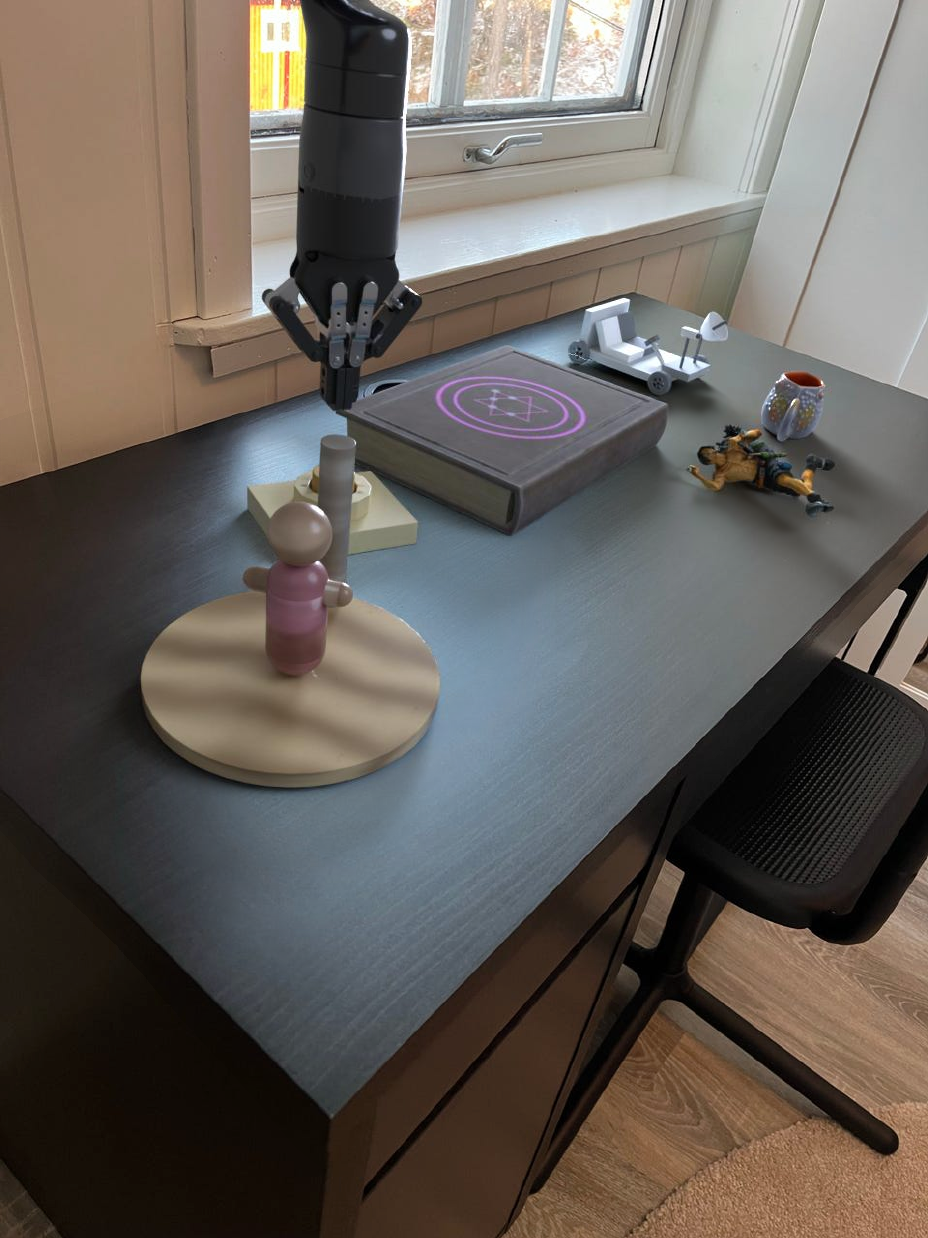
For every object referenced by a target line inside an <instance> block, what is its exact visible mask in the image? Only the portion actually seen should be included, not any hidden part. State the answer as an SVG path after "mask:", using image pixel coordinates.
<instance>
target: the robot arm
mask: <svg viewBox="0 0 928 1238" xmlns="http://www.w3.org/2000/svg"><path fill="white" fill-rule="evenodd" d="M299 4H300V10H301V14H302V20H303V26H304V32H305V60H304V61H305V62H304V86H303V87H304V91H303V92H304V94H303V102H304V103H303V111H302V119H301V126H300V132H299V141H298V165H297V167H298V168H297V201H296V202H297V203H296V231H295V238H296V239H295V240H296V241H295V243H296V252H295V255H294V259H293V261H292V262H291V264H290V267H289V278H288V279H286V280H285V281H284V282H282V283H281V284H280V285H279V286H278V287H277V288H275V289H273V288H266V289H265V290H264V291H263V292H262V294H261V300H262V302H263V304H264V305H265V306H266V307H267V309H268V310H269V311H270V313H271V314H272V315H273V317H274V318H275V319H276V320H277V322H278V323H279V325H280V326H281V327H282V329H283V330H284V331H285V332H286V334H287V335H288V336H289V338H290V339H291V340H292V342H293V343H294V344H295V346H296V347H297V348H298V349H299V351H300V352H301V353H303V354H305V356H306V357H307V358H308V359H309V360H310V361H311V362H312V363H317V362H319V363H320V367H319V368H320V369H319V387H318V388H319V390H318V393H319V395H320V398H321V399H322V401H323V402H325V403H326V405H327V407H329V408H330V409H331V411H333V412H336V411H340V410H351V408H352V403H354V402H356V400H358V399H359V392H360V391H359V389H360V375H361V367H362V364H363V363H364V362H365V361H367V360H369V359H372V358H374V359H379V358H381V357H383V355H384V354H385V353H386V352H387V350H389V348H390V347H391V345H392V344H393V343H394V341H395V340H396V339H397V337H398V336H399V335H400V334H401V332H402V331H403V330H404V328H405V327H406V326H407V325H408V324H409V322H410V321H411V320H412V318H413V317H414V316H415V315H416V313H417V312H418V311H419V309H420V308H421V307H422V305H423V298H422V296H420V294H418V293H416V292H415V291H414V290H412V289H411V288H410V287H408V286H407V285H405V284H404V283H403V282H402V281H401V280H400V269H399V266H398V264H397V260H396V255H397V250H398V248H399V238H400V228H401V217H402V206H403V205H402V204H403V195H404V183H405V180H406V157H407V139H406V138H407V137H406V116H407V115H406V114H407V103H408V95H409V94H408V91H409V80H410V72H411V71H410V70H411V58H412V37H411V32H410V29H409V28H408V25H407V24H406V23H405V22H404V21H403V20H402V19H400V17H398V16H396V15H394V14H393V13H391V12H388V11H386V10H385V9H382V8H381V7H379V6H377V5H375V3H373V2H372V1H371V0H299ZM299 295H300V297H302V299H303V300H304V302H305V303H306V305H307V307H308V308H309V310H310V311H311V312H312V313H313V315H314V325H315V328H316V332H317V339H315V338H314V336H313V335H312V334H311V333H310V331H309V329H307V327H306V325H304V323H303V322H302V320H301V319H300V318H299V316H298V315H297V314H298V313H299V312H300V310H301V303H300V301H299ZM383 303H384V305H383ZM381 306H382V307H381Z"/></svg>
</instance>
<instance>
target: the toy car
mask: <svg viewBox="0 0 928 1238" xmlns="http://www.w3.org/2000/svg"><path fill="white" fill-rule="evenodd" d="M630 304H631V300H630V299H628V298H625V297H623V298H620V299H617V300H614V301H610V302H607V303H603V304H601V305H597V306H593V307H591V308H587V309H585V311H584V315H583V320H582V326H581V330H580V335H579V339H578V340H575V341H573V342H571V343H570V345H569V346H568V349H567V355H568V358H569V360H570V362H572V363H573V364H575V365H582V364H585V363H586V362H588V360H590V359H592V360H591V361H593V360H594V361H593V362H595V361H596V363H598V364H601V365H604V366H606V367H608V368H611V369H614V370H616V371H619V372H622V373H625V374H627V375H630V376H633V377H635V378H637V379H640V380H642V381H646V382H647V387H648V389H649V391H650V392H651V393H652V394H653V395H655V396H663V395H665V394H667V393H668V392H669V391H670V389H671V387H672V382H673V381H676V380H681V381H683V382H687V383H689V382H691V381H693V380H695V379H697V378H701V377H704V376H705V375H707V374H709V373H710V369H711V364H709V360H708V358H707V357H706V356H705V355H703V354H700V349H701V346H702V342H703V340H704V341H708V342H724V341H726V340H728V337H729V331H728V326H727V325H726V324H727V323H729V319H728V318H727V319H725V320H724V319H723V318H722V316H721V315H720V314H719V313H717V312H716V311H710V312H709V313H708V315H707V316H706V318H705V319H704V321H703V323H702V324H701V326H700V330H697V329H695V328H692V327H689V326H686V325H685V326H683V327H681V330H680V334H679V336H680V337H682V338H683V337H684V338H686V339H685V344H684V347H683V350H682V355H681V356H679V355H676V354H674V353H671V352H668V351H665V350H662V349H660V348H659V346H660V344H659V343H657V342H658V341H660V339H661V338H660V336H659V334H656V335H654V336H652V337H650V338H648V339H646V338H644V337H640V336H638V335H637V330H636V325H635V319H634V314H633V311H632V310H631V311H629V308H630ZM690 340H692V341H696V340H698V342H697V346H696V349H695V353H694V355H692V356H690V357H689V356H687V351H688V348H689V344H690ZM568 353H571V354H575V353H576V354H575V355H578V356H575V355H571V354H568ZM579 356H580V357H582V358H584V359H587V360H584V359H582V358H580V357H579ZM588 358H590V359H588Z"/></svg>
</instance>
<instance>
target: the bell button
mask: <svg viewBox="0 0 928 1238" xmlns="http://www.w3.org/2000/svg"><path fill="white" fill-rule="evenodd" d="M312 470H313V475H312V490H313V492H315V493H317V494H318V485H319V464H317V465H315V466H314V467H313V468H312ZM355 473H356V472H355V471H354V479H353V492H354V481H355ZM352 494H353V493H352Z"/></svg>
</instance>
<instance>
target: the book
mask: <svg viewBox="0 0 928 1238" xmlns="http://www.w3.org/2000/svg"><path fill="white" fill-rule="evenodd" d="M335 414H336V415H338V416H340V417H342V418H344V419H345V418H346V432H347V434H346V436H348V437H350V438H352V439H353V440H355V442H356V450H355V464H356V465H358V466H360V467H362V468H365V469H367V470H368V471H371V472H372V473H375V474H377V475H380V476H381V477H384V478H386V479H388V480H390V481H393V482H395V483H397V484H399V485H401V486H402V487H406V488H408V489H409V490H411V491H413V492H416V493H418V494H420V495H422V496H425V497H427V498H429V499H430V500H433V501H435V502H437V503H440V504H442V505H444V506H445V507H448V508H450V509H453V510H455V511H456V512H459V513H461V514H463V515H465V516H468V517H469V518H472V519H474V520H476V521H478V522H480V523H482V524H484V525H486V526H489V527H491V528H493V529H494V530H495V529H496V530H497V531H500V532H502V533H503V534H506V535H508V536H510V537H512V536H514V535H515V534H517V533H518V532H520V531H522V530H524V529H526V528H527V527H529V526H531V524H533V523H535V522H536V521H538V520H540V519H542V518H543V517H545V516H546V515H548V514H549V513H551V512H553V511H554V510H556V509H557V508H558V507H561V506H562V505H563V504H565V503H566V502H568V501H570V500H571V499H573V498H574V497H576V496H578V495H579V494H581V493H582V492H585V491H586V490H587V489H589V488H590V487H592V486H593V485H595V484H597V483H598V482H600V481H601V480H603V479H605V478H606V477H608V476H610V475H611V474H613V473H614V472H616V471H618V469H621V468H622V467H624V466H626V465H627V464H629V463H630V462H632V461H633V460H636V458H638V457H639V456H641V455H643V454H645V453H647V452H648V451H649V450H651V449H652V448H654V447H655V446H658V444H659V442H660V441H661V440H662V437H663V436H664V433H665V431H666V428H667V425H668V418H669V405H668V403H666V402H665V401H660V400H658V399H655V398H652V397H651V396H647V395H644V394H643V393H639V392H636V391H634V390H631V389H628V388H625V387H623V386H620V385H617V384H615V383H611V382H609V381H606V380H603V379H600V378H598V377H595V376H592V375H590V374H587V373H585V372H582V371H579V370H575V369H573V368H570V367H568V366H565V365H562V364H560V363H557V362H555V361H551V360H548V359H546V358H543V357H540V356H538V355H535V354H533V353H529V352H526V351H524V350H522V349H519V348H516V347H513V346H511V345H508V344H506V345H503V346H501V347H498V348H495V349H492V350H490V351H487V352H484V353H482V354H479V355H476V356H473V357H471V358H468V359H465V360H463V361H459V362H457V363H454V364H451V365H449V366H445V367H443V368H440V369H437V370H435V371H432V372H429V373H427V374H424V375H422V376H419V377H415V378H413V379H411V380H407V381H405V382H402V383H400V384H396V385H395V386H392V387H389V388H386V389H383V390H381V391H378V392H375V393H373V394H369V395H367V396H365V397H362V398H358V399H357V400H356V402H354V403H352V408H351V410H340V411H335Z"/></svg>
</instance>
